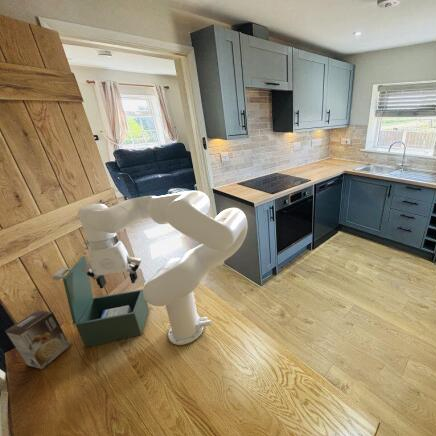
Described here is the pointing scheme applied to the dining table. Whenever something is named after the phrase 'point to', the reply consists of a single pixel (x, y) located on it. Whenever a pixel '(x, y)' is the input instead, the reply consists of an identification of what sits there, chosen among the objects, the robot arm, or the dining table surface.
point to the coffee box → (38, 338)
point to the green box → (112, 318)
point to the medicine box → (116, 311)
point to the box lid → (76, 288)
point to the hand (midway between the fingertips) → (119, 283)
